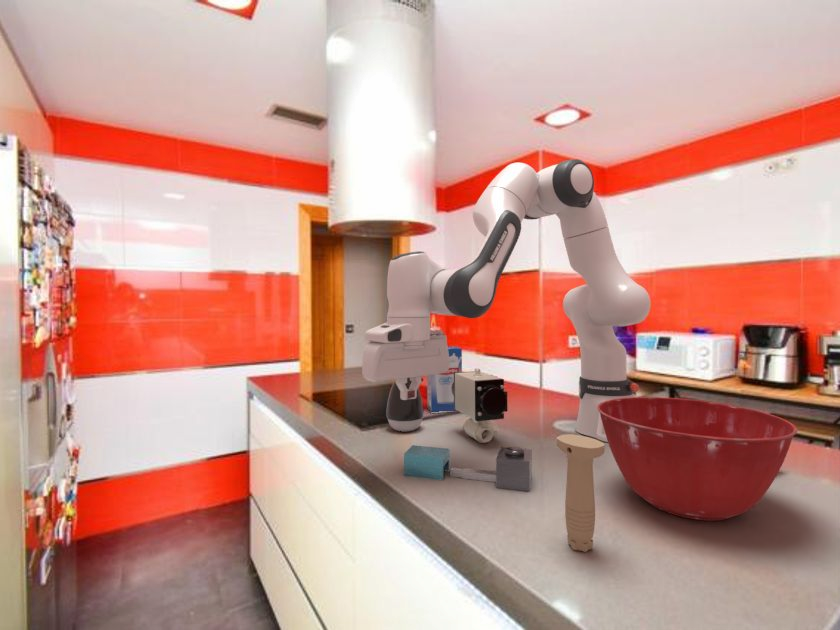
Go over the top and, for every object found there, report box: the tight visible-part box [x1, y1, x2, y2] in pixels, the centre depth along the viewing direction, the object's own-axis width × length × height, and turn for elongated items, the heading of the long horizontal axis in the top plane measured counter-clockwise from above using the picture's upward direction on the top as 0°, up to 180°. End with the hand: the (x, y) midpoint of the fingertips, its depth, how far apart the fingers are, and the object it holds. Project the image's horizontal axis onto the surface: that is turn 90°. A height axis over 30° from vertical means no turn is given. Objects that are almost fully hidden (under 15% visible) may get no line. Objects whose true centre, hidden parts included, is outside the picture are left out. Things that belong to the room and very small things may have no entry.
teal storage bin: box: [403, 444, 451, 481], centre depth 90 cm, size 8×6×4 cm
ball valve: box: [452, 368, 508, 444], centre depth 112 cm, size 18×8×18 cm, turn 19°
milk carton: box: [426, 346, 463, 413], centre depth 141 cm, size 10×6×20 cm, turn 102°
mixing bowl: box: [597, 396, 798, 521], centre depth 76 cm, size 28×28×15 cm
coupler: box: [449, 446, 533, 493], centre depth 86 cm, size 16×7×6 cm, turn 72°
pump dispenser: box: [385, 376, 425, 433], centre depth 121 cm, size 10×10×15 cm
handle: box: [556, 433, 605, 553], centre depth 62 cm, size 5×6×15 cm
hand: (408, 398), depth 91 cm, fingers closed
